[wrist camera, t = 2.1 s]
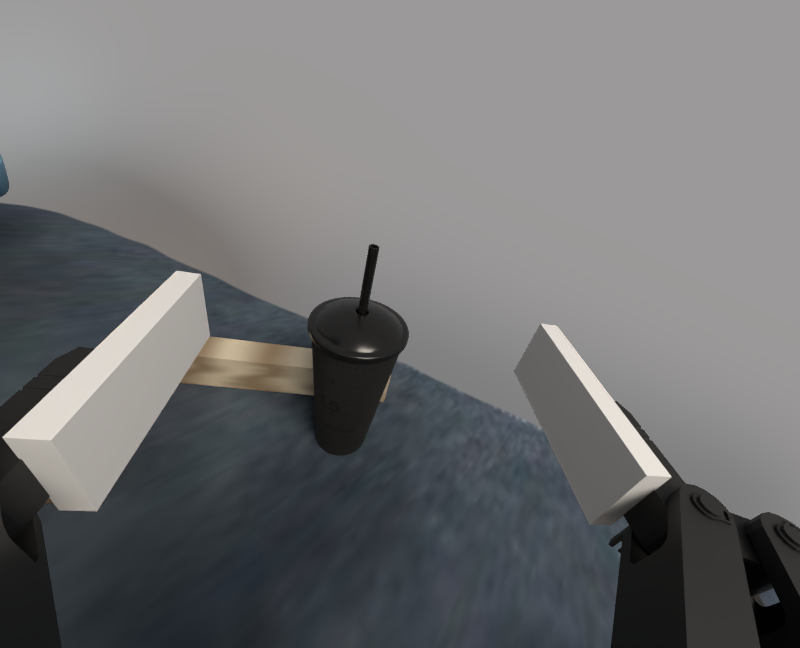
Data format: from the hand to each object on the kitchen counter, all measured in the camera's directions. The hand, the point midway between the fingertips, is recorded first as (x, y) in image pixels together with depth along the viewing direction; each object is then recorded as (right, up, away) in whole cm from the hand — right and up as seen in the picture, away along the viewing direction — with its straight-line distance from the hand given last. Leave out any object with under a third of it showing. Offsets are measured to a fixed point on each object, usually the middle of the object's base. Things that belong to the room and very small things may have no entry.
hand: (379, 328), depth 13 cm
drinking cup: (-5, -11, +20) cm, 23 cm away
